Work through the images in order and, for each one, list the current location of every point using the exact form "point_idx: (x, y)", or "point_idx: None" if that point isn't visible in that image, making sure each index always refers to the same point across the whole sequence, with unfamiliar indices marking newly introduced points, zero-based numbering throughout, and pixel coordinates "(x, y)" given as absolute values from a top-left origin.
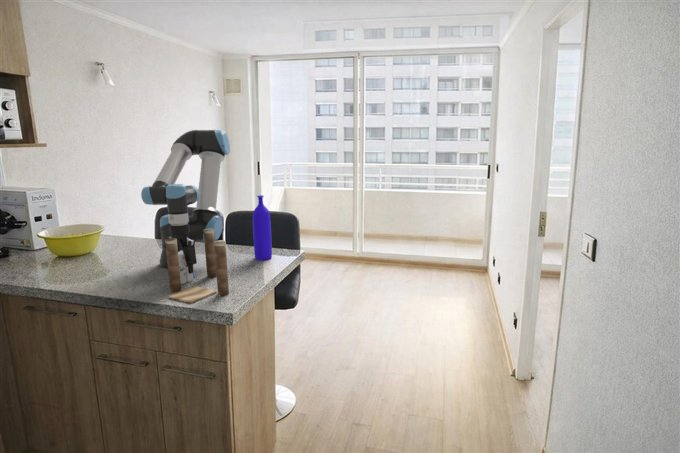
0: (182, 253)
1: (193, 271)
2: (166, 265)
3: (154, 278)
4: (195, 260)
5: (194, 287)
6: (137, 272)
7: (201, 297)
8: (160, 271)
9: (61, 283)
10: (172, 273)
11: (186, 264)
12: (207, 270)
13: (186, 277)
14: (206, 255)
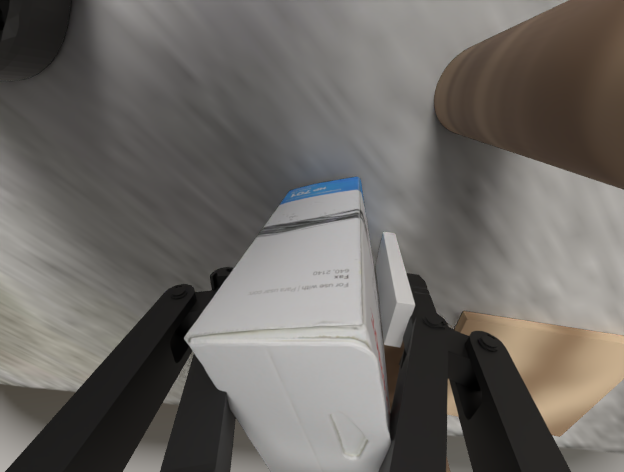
0: (341, 449)
1: (363, 202)
2: (1, 78)
3: (170, 255)
4: (509, 377)
5: (486, 331)
6: (17, 212)
7: (590, 408)
8: (73, 153)
9: (10, 358)
10: None
11: (382, 337)
12: (480, 141)
13: (377, 281)
14: (616, 186)
